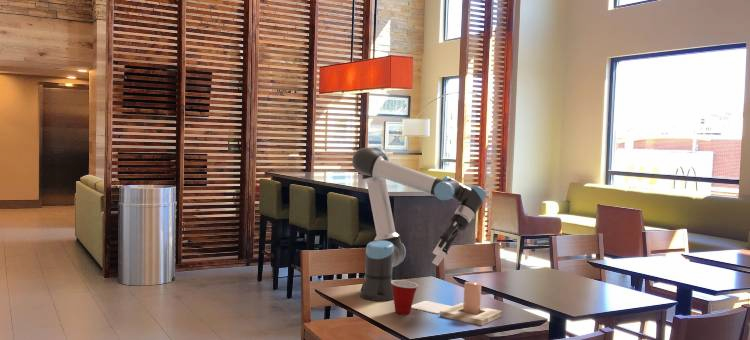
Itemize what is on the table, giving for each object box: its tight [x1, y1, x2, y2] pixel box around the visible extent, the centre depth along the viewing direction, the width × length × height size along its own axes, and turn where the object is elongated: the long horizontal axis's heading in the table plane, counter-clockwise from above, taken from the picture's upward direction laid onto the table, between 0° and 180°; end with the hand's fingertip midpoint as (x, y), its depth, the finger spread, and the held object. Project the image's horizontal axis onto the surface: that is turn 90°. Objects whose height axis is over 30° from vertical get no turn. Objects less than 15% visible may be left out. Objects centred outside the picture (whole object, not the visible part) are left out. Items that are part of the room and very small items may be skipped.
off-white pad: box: [411, 300, 452, 315], centre depth 262 cm, size 14×14×1 cm
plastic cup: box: [391, 279, 419, 315], centre depth 252 cm, size 11×11×12 cm
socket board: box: [439, 302, 503, 326], centre depth 251 cm, size 18×18×2 cm
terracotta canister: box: [463, 280, 482, 315], centre depth 251 cm, size 6×6×13 cm
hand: (435, 259), depth 264 cm, fingers open, 13 cm apart
